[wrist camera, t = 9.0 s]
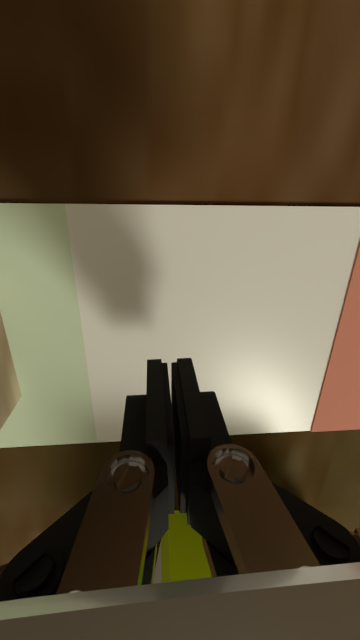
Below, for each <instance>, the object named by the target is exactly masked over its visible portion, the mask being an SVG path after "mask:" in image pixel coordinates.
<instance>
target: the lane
mask: <svg viewBox="0 0 360 640" xmlns="http://www.w3.org/2000/svg"><path fill="white" fill-rule="evenodd" d="M359 242H360V207H330V206H235V205H140V204H45V203H0V313H1V316H2V320H3V324H4V328H5V332H6V336H7V340H8V344H9V348H10V352H11V356H12V360H13V364H14V368H15V372H16V375H17V379H18V383H19V387H20V391H21V395H22V397H21V398H20V400H19V401H18V403H17V404H16V406H15V408H14V409H13V411H12V412H11V414H10V416H9V417H8V419H7V420H6V422H5V423H4V425H3V427H2V428H1V430H0V448H5V447H23V446H41V445H59V444H77V443H95V442H113V441H121V436H122V428H123V419H124V411H125V402H126V396H127V395H146V391H147V360H148V359H161V361H162V363H167V366H168V376H169V386H170V395H171V363H172V362H177V358H191V359H192V362H193V366H194V370H195V374H196V378H197V382H198V386H199V390H200V392H207V391H214V392H215V394H216V397H217V400H218V403H219V406H220V409H221V412H222V415H223V418H224V421H225V424H226V427H227V430H228V433H229V435H240V434H258V433H276V432H294V431H310V430H311V427H312V423H313V419H314V415H315V411H316V407H317V404H318V400H319V396H320V392H321V388H322V384H323V380H324V377H325V373H326V369H327V365H328V361H329V357H330V353H331V350H332V346H333V342H334V338H335V334H336V330H337V327H338V323H339V319H340V315H341V311H342V307H343V303H344V300H345V296H346V292H347V288H348V284H349V280H350V277H351V273H352V269H353V265H354V261H355V257H356V253H357V250H358V246H359Z"/></svg>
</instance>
